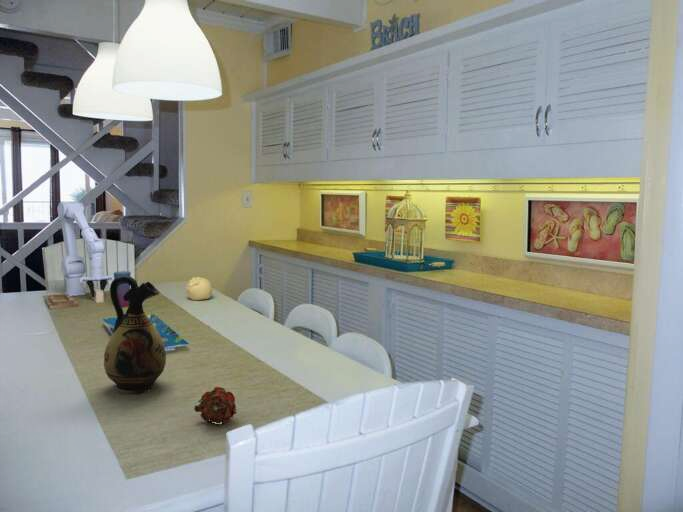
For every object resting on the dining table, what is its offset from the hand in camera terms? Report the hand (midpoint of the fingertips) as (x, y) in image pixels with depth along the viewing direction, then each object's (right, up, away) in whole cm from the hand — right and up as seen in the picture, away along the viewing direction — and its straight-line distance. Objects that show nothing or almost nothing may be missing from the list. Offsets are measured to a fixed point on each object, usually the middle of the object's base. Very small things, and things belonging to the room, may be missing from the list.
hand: (97, 296), depth 251 cm
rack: (-12, -2, -10) cm, 15 cm away
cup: (+16, -4, -11) cm, 20 cm away
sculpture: (+45, -2, +7) cm, 46 cm away
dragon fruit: (+83, -20, -124) cm, 151 cm away
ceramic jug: (+57, -17, -105) cm, 121 cm away
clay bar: (0, -1, 0) cm, 2 cm away
